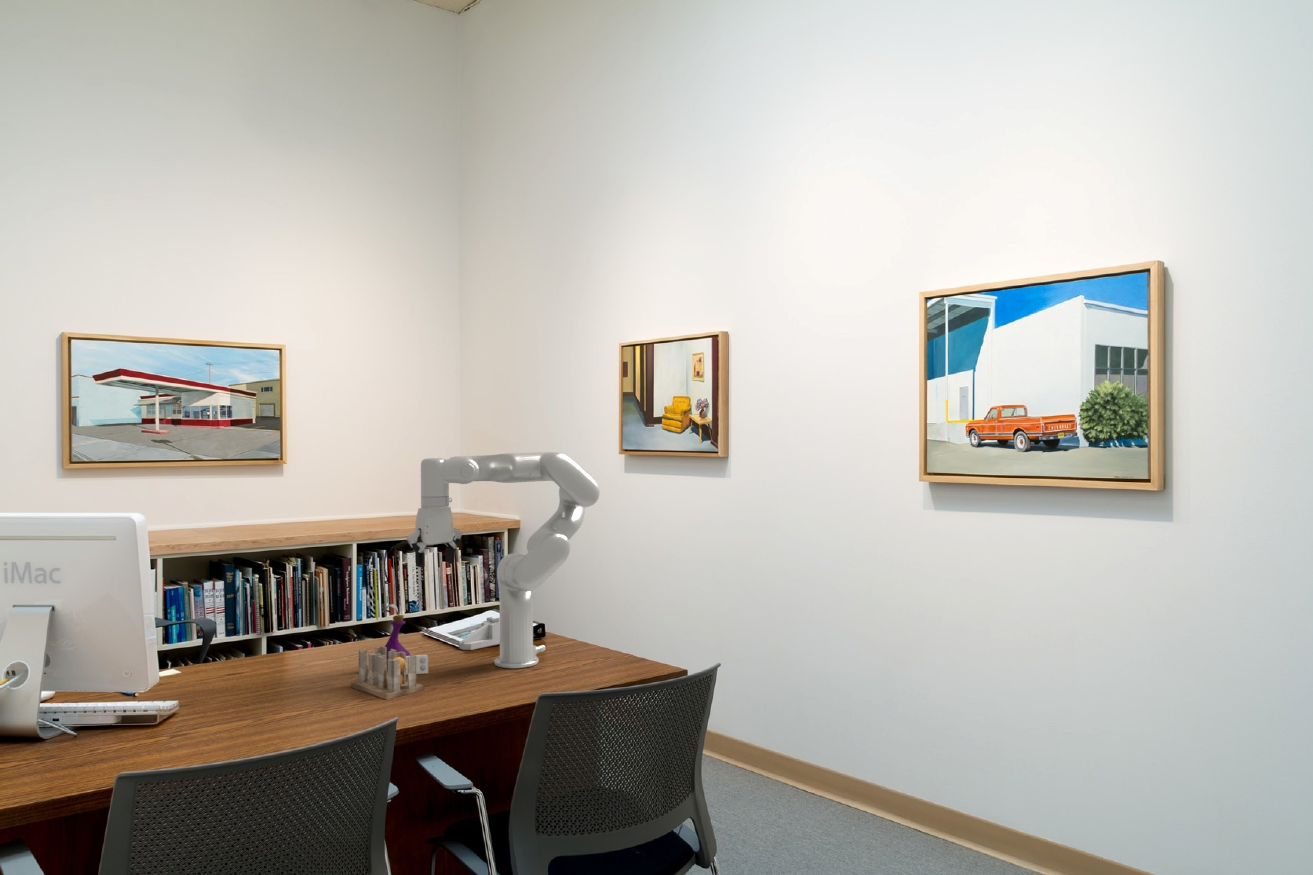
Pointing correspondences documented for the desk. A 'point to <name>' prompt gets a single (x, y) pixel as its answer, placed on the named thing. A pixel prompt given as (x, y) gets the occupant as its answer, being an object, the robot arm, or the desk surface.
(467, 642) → the sloped support bracket
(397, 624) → the purple potion bottle
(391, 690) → the ball rack
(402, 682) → the seated orange ball
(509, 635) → the robot arm
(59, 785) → the desk surface
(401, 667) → the orange ball
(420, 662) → the card
